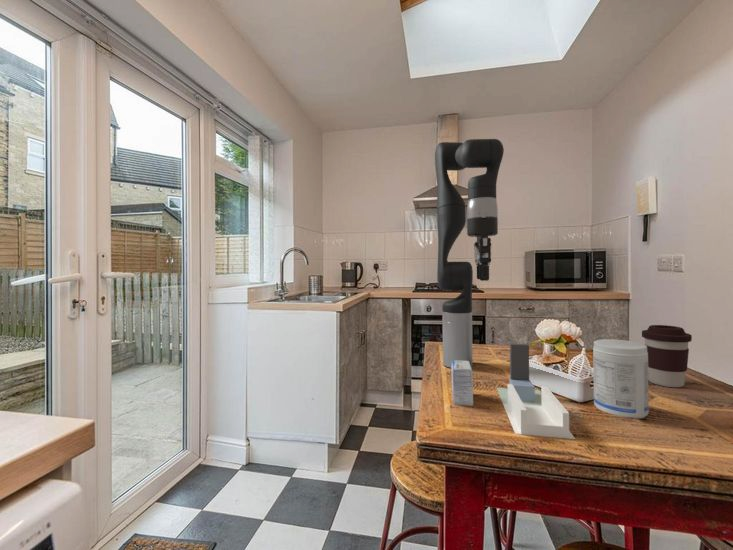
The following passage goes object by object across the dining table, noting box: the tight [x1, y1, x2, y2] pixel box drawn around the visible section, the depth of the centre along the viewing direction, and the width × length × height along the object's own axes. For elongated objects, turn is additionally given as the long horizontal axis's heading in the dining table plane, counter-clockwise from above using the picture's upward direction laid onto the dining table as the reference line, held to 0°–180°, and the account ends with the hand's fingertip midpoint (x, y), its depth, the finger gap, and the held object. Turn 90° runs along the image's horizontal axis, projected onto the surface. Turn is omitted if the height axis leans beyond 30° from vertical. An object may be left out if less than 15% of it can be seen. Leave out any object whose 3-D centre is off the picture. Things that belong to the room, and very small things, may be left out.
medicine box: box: [450, 360, 474, 406], centre depth 81 cm, size 8×4×9 cm, turn 168°
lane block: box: [508, 342, 536, 402], centre depth 82 cm, size 6×4×12 cm
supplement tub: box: [592, 338, 649, 420], centre depth 74 cm, size 10×10×15 cm
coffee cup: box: [641, 324, 693, 388], centre depth 91 cm, size 10×10×15 cm
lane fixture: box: [496, 383, 576, 440], centre depth 75 cm, size 25×10×5 cm, turn 167°
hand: (482, 279), depth 90 cm, fingers open, 8 cm apart
